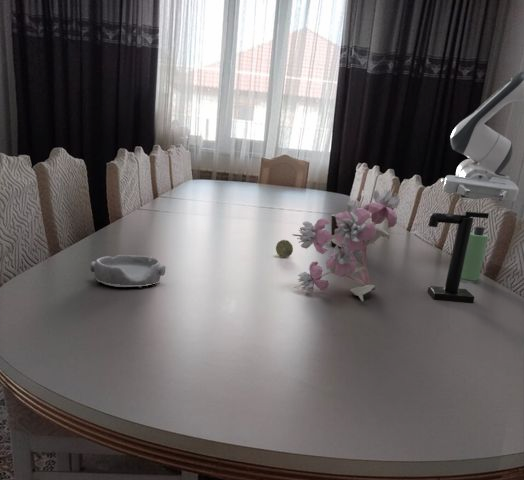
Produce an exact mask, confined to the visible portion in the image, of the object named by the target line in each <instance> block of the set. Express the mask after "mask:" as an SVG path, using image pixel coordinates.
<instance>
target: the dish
mask: <svg viewBox="0 0 524 480" xmlns="http://www.w3.org/2000/svg"><path fill="white" fill-rule="evenodd" d="M166 268H167V267H166V265H162V263H161V261H160V260H159V258H156V257H151V256H149V255H134V254H130V255H129V254H117V255H115V256H110V255H105V256H102V257H99V258H97V259H96V260H95V261H91V263H90V272H93V273H94V278H95V277H96V278H97V279H98V280H100V281H103V282H106V283H111V284H120V285H146V284H153V283H156V282H158V281H159V282H160V280H161V277H163V276H165V273H166ZM96 278H95V279H96ZM159 282H158V283H159ZM140 288H141V287H139V289H140Z"/></svg>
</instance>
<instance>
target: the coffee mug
mask: <svg viewBox="0 0 524 480" xmlns="http://www.w3.org/2000/svg"><path fill="white" fill-rule="evenodd" d="M337 214H338V213H334V214H331V219H330V220H331V221H330V222H331V223H330V224H331V226H330V228H331V229H330V234H331V235H334V234H335V229H337V228H338V226H337V223H336V215H337ZM364 223H366V221H365V222H364ZM331 239H332V238H331ZM330 246H331V247H333V248H334V247H335V246H336V244H335V243H333V242H332V240H330ZM337 246H338V245H337ZM338 248H339V249H342V248H344V247H342V248H341V247H339V246H338Z"/></svg>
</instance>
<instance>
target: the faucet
mask: <svg viewBox="0 0 524 480" xmlns="http://www.w3.org/2000/svg"><path fill="white" fill-rule="evenodd" d="M489 216H490V213H488V212H480V211H479V212H478V211H466V210H465V211H464V213H463V214H455V213H442V212H433V213H431V214H430V216H429V221H428V227H431V228H438V227H439V223H441V224H451V225H452V224H453V225H454V224H455V225H457V226H456V227H457V228H456V232H455V236H454V242H453V246H452V251H451V256H450V260H449V265H448V271H447V275H446V279H445V285H444V286H435V285H428V286H427V293H428V294H429V295H430V297H431V298H432V299H433V300H434V301H446V302H448V301H449V302H456V303H457V302H458V303H468V304H473V303H474V301H475V296H474V295H473V294H472V293H471V292H470V291H469V290H468V289H467V288H459V287H460V283H461V274H462V270H463V265H464V260H465V256H466V251H467V247H468V242H469V237H470V233H472V228H473V224H474V218H480V219H489Z"/></svg>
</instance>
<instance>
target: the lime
mask: <svg viewBox="0 0 524 480" xmlns="http://www.w3.org/2000/svg"><path fill="white" fill-rule="evenodd" d="M293 251H294V248H293V244H292V243H291V242H290V240H287V239H281V240H280V241H278V242H277V243H276V246H275V252H276V255H278V257H280V258H283V259H286V258H289V257H290V256H291V255H292V254H293Z"/></svg>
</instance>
